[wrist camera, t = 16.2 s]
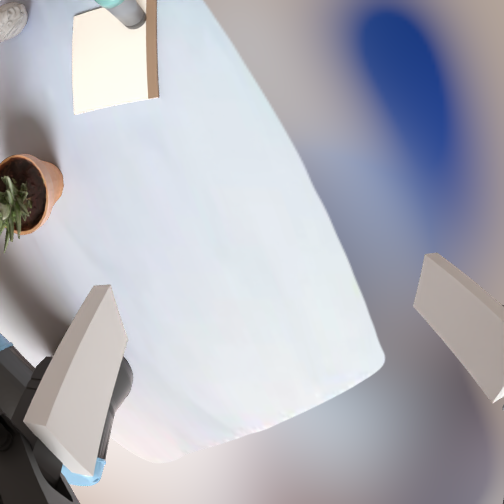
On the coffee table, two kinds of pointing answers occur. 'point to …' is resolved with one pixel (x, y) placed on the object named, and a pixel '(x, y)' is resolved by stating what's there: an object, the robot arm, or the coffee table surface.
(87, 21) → the notepad
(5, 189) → the potted plant
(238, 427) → the coffee table surface
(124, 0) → the marker
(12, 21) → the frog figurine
